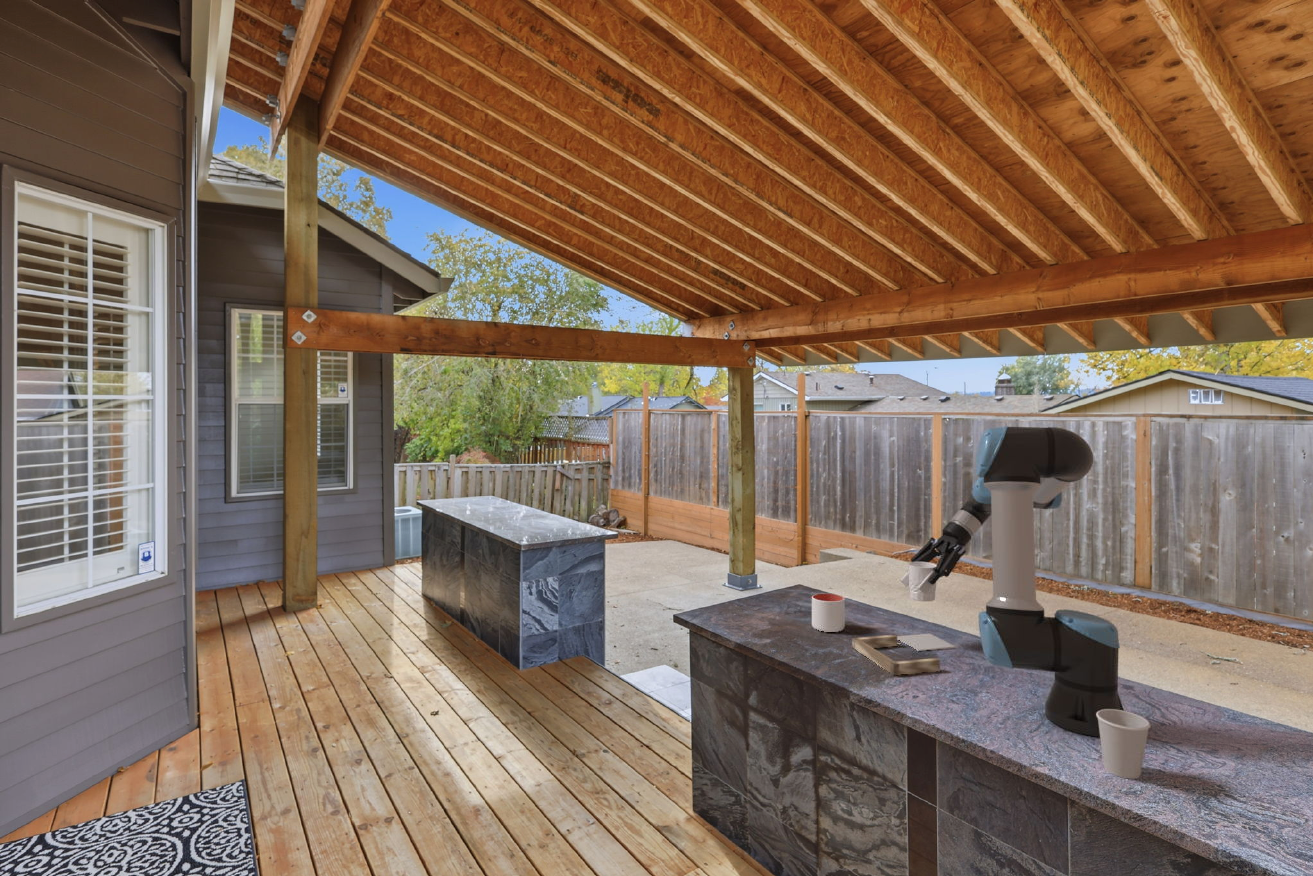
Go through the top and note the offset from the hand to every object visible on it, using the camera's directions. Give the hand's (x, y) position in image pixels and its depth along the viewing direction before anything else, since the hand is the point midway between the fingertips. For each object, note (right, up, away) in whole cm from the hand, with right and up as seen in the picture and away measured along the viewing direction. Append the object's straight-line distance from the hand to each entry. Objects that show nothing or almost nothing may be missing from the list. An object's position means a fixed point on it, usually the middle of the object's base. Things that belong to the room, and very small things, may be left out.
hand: (912, 587), depth 196 cm
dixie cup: (+13, -19, -69) cm, 73 cm away
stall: (-9, -17, -11) cm, 23 cm away
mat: (+4, -17, +2) cm, 18 cm away
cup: (-20, -17, +16) cm, 31 cm away
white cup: (+3, -4, +1) cm, 5 cm away
